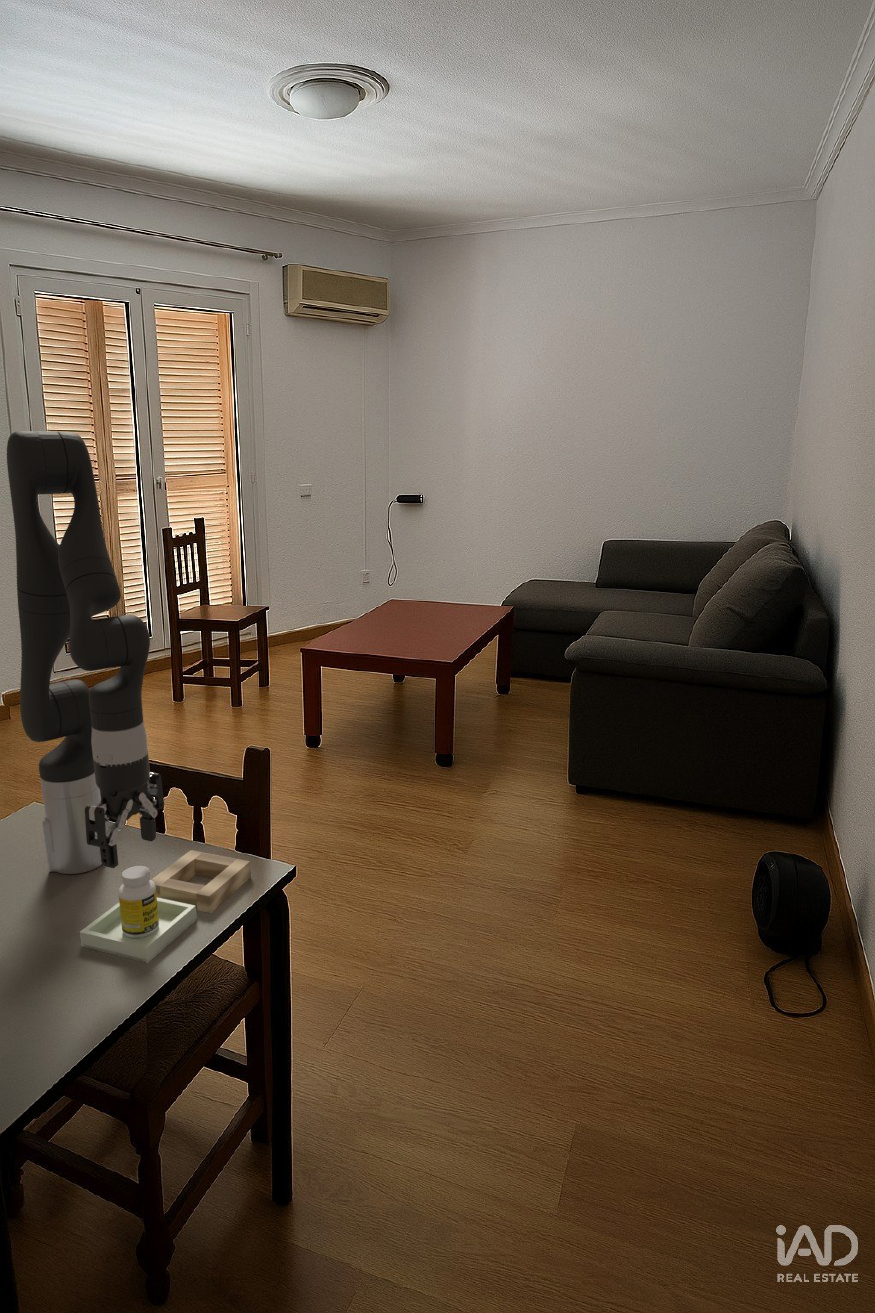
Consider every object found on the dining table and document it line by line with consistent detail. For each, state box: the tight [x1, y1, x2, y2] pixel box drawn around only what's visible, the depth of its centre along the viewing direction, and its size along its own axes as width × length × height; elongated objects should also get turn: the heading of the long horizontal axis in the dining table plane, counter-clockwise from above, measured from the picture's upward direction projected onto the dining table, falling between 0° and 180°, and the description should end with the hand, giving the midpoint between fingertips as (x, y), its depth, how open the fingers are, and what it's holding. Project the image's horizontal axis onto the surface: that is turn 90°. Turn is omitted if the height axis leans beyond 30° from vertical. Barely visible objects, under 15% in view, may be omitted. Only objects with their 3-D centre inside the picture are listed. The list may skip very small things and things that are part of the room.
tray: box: [79, 897, 198, 964], centre depth 134 cm, size 12×12×2 cm
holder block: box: [151, 849, 252, 914], centre depth 147 cm, size 12×12×3 cm
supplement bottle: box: [118, 865, 159, 938], centre depth 134 cm, size 5×5×10 cm
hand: (130, 852), depth 131 cm, fingers open, 8 cm apart
